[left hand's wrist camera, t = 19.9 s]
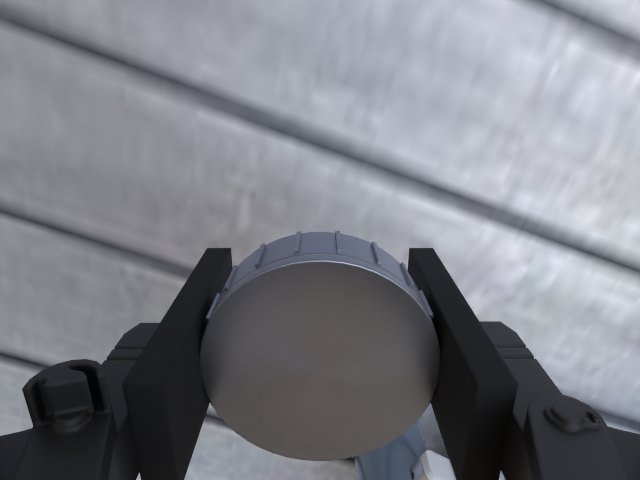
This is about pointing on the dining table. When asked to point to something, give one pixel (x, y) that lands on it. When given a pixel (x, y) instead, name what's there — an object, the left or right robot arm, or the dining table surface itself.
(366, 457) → the grey cylinder
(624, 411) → the dining table surface
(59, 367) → the left robot arm
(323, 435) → the lid
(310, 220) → the dining table surface
